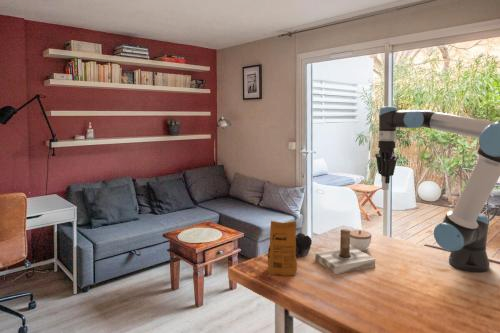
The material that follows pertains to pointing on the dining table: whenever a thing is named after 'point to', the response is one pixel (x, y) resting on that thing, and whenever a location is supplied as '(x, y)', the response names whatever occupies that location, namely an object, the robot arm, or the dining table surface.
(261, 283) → the dining table surface
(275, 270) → the coffee package
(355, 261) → the board
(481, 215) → the robot arm
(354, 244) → the lidded jar
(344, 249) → the peg
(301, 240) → the crystal cluster
